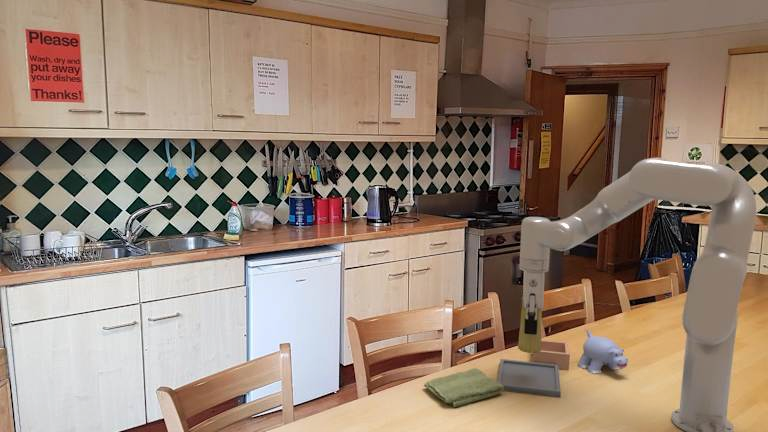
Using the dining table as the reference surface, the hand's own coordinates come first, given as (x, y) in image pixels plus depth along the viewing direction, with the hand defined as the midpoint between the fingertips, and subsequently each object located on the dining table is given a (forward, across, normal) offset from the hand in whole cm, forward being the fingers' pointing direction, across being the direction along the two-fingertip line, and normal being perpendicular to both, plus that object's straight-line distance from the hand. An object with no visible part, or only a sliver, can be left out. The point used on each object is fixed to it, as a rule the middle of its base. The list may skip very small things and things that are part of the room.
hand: (530, 329), depth 157 cm
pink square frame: (+14, +15, -6) cm, 21 cm away
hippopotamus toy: (+14, +13, -21) cm, 29 cm away
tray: (+14, 0, 0) cm, 14 cm away
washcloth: (+14, -13, +16) cm, 25 cm away
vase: (+6, 0, 0) cm, 6 cm away
